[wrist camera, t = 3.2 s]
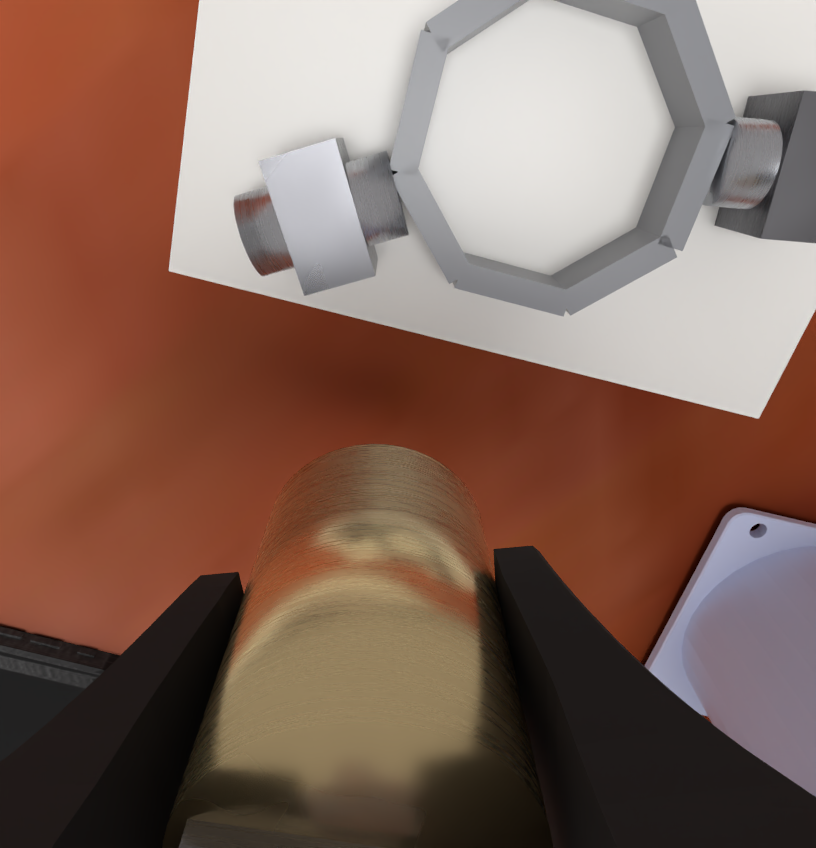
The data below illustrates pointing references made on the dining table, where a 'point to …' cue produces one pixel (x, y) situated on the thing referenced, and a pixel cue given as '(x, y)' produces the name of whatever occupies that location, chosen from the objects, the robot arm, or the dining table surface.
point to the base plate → (520, 174)
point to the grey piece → (320, 215)
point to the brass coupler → (366, 677)
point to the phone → (40, 682)
